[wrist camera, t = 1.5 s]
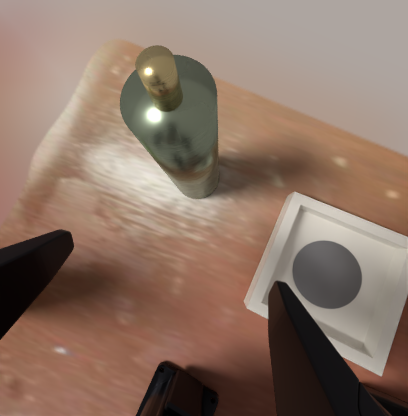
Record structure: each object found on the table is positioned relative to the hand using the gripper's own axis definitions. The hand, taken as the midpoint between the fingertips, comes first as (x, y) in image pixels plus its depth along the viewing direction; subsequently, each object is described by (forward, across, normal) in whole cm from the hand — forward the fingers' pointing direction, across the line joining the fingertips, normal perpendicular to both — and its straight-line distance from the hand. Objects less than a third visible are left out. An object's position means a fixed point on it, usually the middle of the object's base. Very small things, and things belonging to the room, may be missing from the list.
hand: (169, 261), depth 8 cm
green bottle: (+15, +1, +2) cm, 15 cm away
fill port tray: (+10, -13, +7) cm, 18 cm away
